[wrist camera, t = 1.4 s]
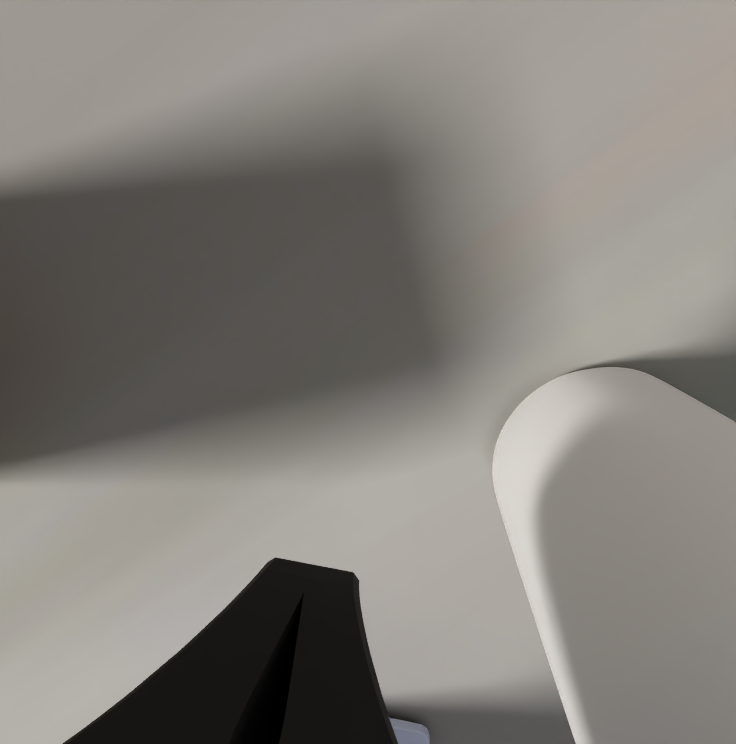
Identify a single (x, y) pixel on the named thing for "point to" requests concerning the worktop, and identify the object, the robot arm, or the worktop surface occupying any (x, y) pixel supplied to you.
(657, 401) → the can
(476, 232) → the worktop surface
